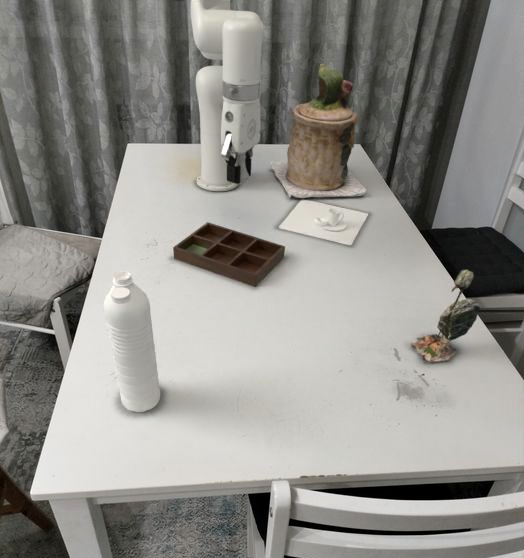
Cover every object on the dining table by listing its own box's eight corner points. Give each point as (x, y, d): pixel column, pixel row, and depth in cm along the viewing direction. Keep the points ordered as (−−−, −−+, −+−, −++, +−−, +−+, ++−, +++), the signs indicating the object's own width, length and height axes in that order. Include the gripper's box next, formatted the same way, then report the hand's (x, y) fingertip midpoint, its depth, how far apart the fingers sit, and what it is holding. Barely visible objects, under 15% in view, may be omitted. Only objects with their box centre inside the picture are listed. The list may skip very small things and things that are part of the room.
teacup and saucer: (310, 227, 134) (312, 213, 131) (319, 215, 140) (321, 201, 137) (342, 235, 132) (344, 220, 129) (349, 222, 138) (352, 208, 135)
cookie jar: (288, 200, 145) (300, 77, 124) (268, 168, 163) (275, 56, 142) (368, 196, 150) (391, 78, 129) (339, 165, 168) (356, 57, 147)
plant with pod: (473, 360, 97) (513, 273, 84) (419, 365, 95) (452, 277, 82) (454, 334, 103) (488, 248, 90) (403, 338, 101) (430, 251, 88)
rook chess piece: (251, 179, 116) (253, 143, 110) (245, 186, 112) (246, 150, 107) (233, 175, 116) (233, 140, 111) (226, 182, 113) (226, 147, 108)
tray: (207, 233, 129) (207, 222, 127) (284, 257, 122) (285, 246, 120) (173, 258, 119) (173, 247, 117) (255, 287, 112) (255, 275, 110)
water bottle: (122, 386, 87) (99, 262, 71) (160, 383, 88) (146, 261, 72) (119, 425, 81) (93, 299, 64) (160, 421, 82) (145, 296, 65)
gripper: (237, 104, 95) (235, 195, 107) (275, 85, 106) (269, 169, 119) (203, 97, 97) (205, 187, 109) (244, 79, 109) (241, 162, 121)
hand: (238, 177), depth 114 cm, fingers closed on rook chess piece, 4 cm apart
